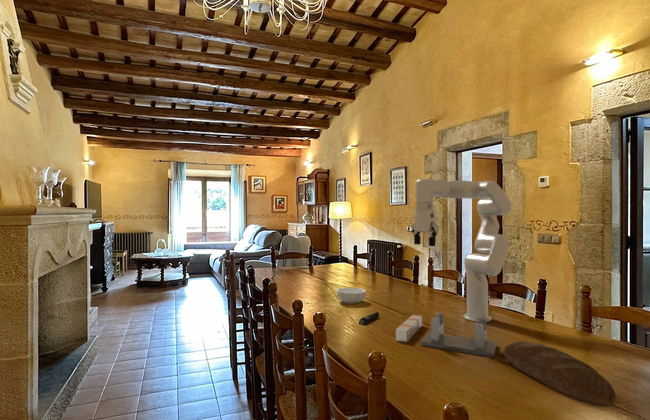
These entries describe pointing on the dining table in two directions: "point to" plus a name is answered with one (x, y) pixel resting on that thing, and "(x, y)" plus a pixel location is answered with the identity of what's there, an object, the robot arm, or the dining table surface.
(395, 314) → the dining table surface
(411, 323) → the white and orange bar
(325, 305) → the dining table surface
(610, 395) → the bread
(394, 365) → the dining table surface
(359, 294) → the cereal bowl
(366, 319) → the electric trimmer
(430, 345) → the grey stand
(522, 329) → the dining table surface
